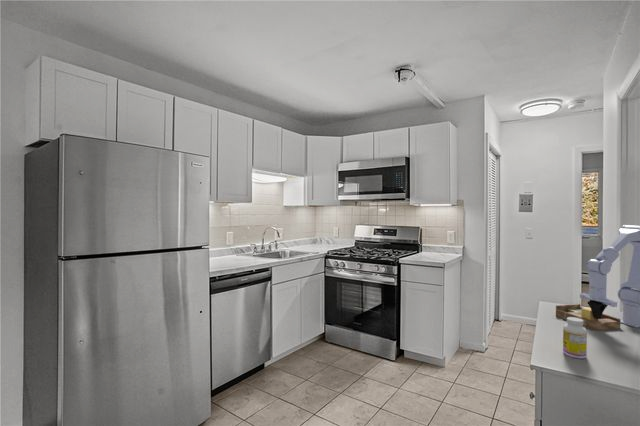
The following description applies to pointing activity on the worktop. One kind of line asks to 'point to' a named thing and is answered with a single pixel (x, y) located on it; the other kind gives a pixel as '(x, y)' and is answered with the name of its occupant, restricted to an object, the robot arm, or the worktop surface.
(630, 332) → the worktop surface
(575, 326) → the supplement bottle
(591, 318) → the ochre block
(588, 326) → the box
